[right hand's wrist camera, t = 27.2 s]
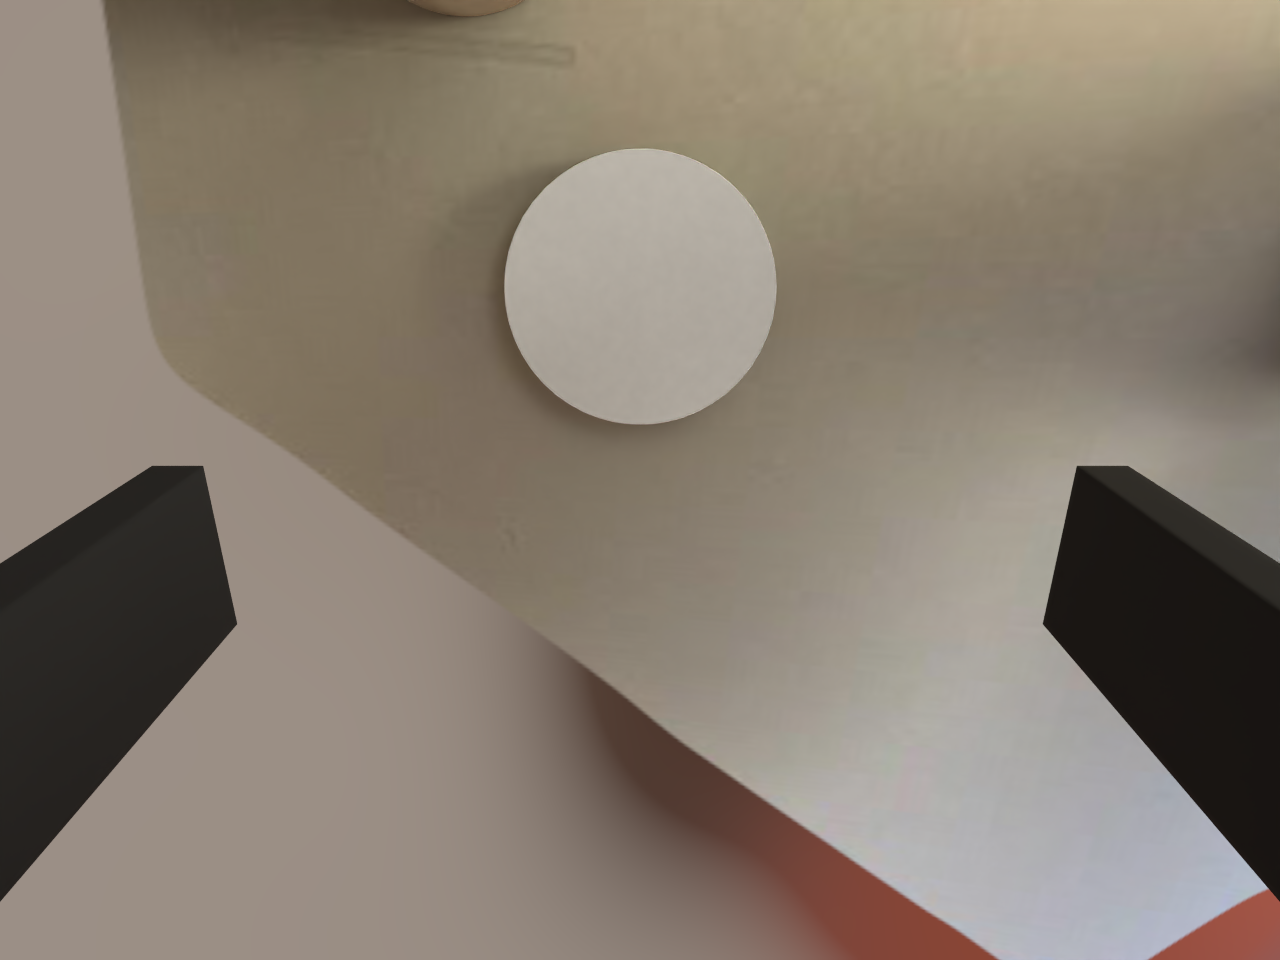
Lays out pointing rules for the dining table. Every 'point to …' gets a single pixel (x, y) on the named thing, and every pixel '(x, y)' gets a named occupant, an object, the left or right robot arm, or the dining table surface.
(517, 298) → the lid
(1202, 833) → the dining table surface
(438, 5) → the jar
